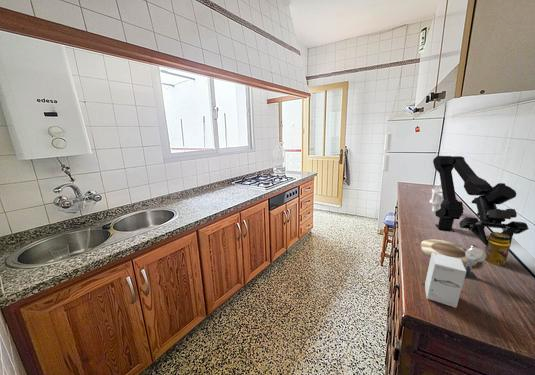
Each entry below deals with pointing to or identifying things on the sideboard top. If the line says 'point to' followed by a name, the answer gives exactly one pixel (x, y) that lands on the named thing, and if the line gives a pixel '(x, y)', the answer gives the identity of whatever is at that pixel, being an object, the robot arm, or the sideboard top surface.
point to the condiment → (497, 248)
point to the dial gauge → (473, 260)
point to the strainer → (436, 199)
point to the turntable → (444, 249)
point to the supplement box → (444, 279)
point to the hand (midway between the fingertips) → (497, 246)
